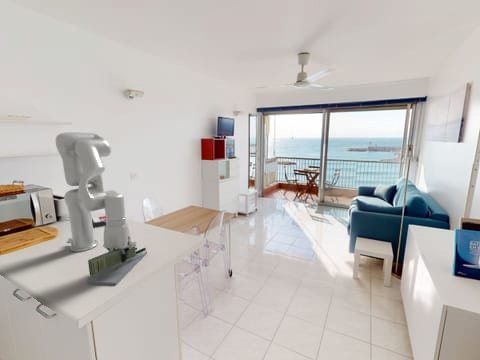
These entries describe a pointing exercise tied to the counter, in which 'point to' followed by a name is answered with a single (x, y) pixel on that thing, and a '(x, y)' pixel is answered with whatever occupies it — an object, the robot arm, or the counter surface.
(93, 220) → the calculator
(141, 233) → the counter surface
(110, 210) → the robot arm
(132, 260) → the charging dock
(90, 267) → the handheld radio
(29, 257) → the counter surface
